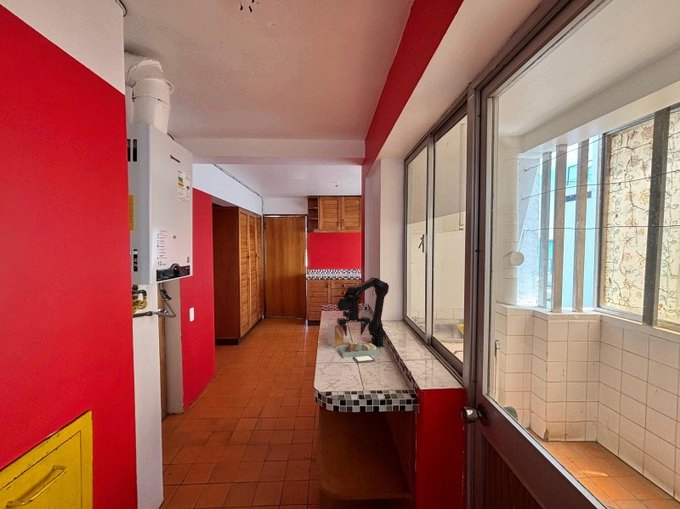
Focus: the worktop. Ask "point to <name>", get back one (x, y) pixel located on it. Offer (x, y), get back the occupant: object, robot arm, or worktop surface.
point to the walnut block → (353, 346)
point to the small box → (335, 334)
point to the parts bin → (357, 353)
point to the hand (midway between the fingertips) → (353, 335)
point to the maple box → (368, 347)
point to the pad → (363, 359)
